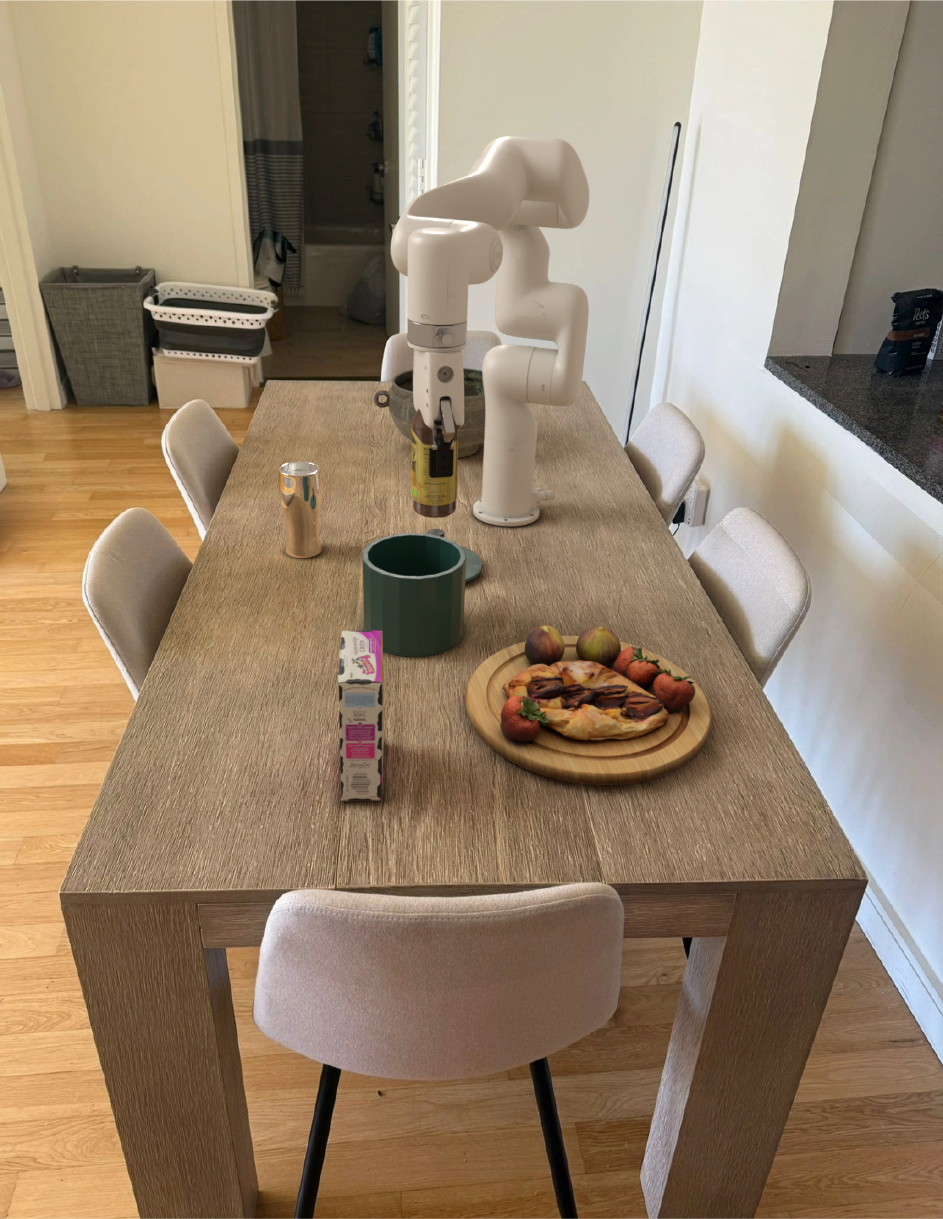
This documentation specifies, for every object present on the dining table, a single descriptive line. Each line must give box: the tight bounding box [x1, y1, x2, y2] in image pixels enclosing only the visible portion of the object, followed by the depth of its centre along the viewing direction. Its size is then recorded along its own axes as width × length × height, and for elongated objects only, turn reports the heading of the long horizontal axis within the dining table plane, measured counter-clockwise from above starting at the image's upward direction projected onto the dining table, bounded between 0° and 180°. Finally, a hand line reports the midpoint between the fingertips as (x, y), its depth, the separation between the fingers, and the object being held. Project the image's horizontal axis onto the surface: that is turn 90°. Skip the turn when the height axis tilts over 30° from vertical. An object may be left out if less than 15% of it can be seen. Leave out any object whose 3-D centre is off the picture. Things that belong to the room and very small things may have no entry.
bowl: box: [373, 367, 485, 459], centre depth 206 cm, size 32×26×15 cm
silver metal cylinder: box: [278, 460, 323, 559], centre depth 159 cm, size 7×7×15 cm
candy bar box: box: [337, 630, 385, 802], centre depth 108 cm, size 11×5×16 cm, turn 5°
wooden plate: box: [464, 624, 712, 786], centre depth 122 cm, size 32×32×8 cm
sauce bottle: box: [411, 372, 459, 519], centre depth 127 cm, size 6×6×20 cm
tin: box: [361, 532, 466, 658], centre depth 138 cm, size 15×15×13 cm
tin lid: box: [427, 528, 483, 584], centre depth 157 cm, size 16×16×7 cm
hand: (434, 465), depth 129 cm, fingers closed on sauce bottle, 6 cm apart
